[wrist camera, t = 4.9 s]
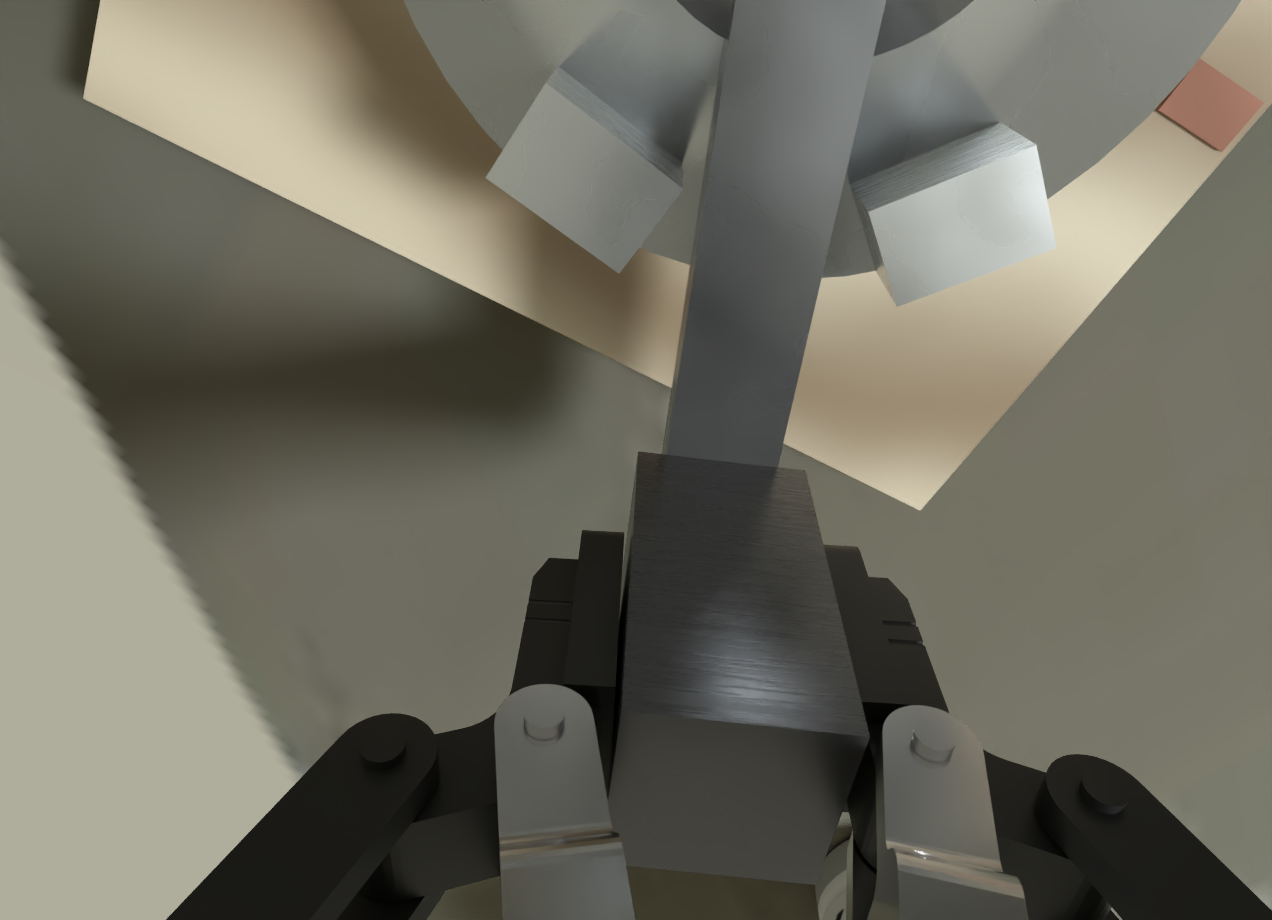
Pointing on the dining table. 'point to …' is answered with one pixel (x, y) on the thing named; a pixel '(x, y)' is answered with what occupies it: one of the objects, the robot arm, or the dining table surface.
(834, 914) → the travel mug
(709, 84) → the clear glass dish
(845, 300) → the base plate
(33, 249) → the dining table surface
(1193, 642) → the dining table surface
